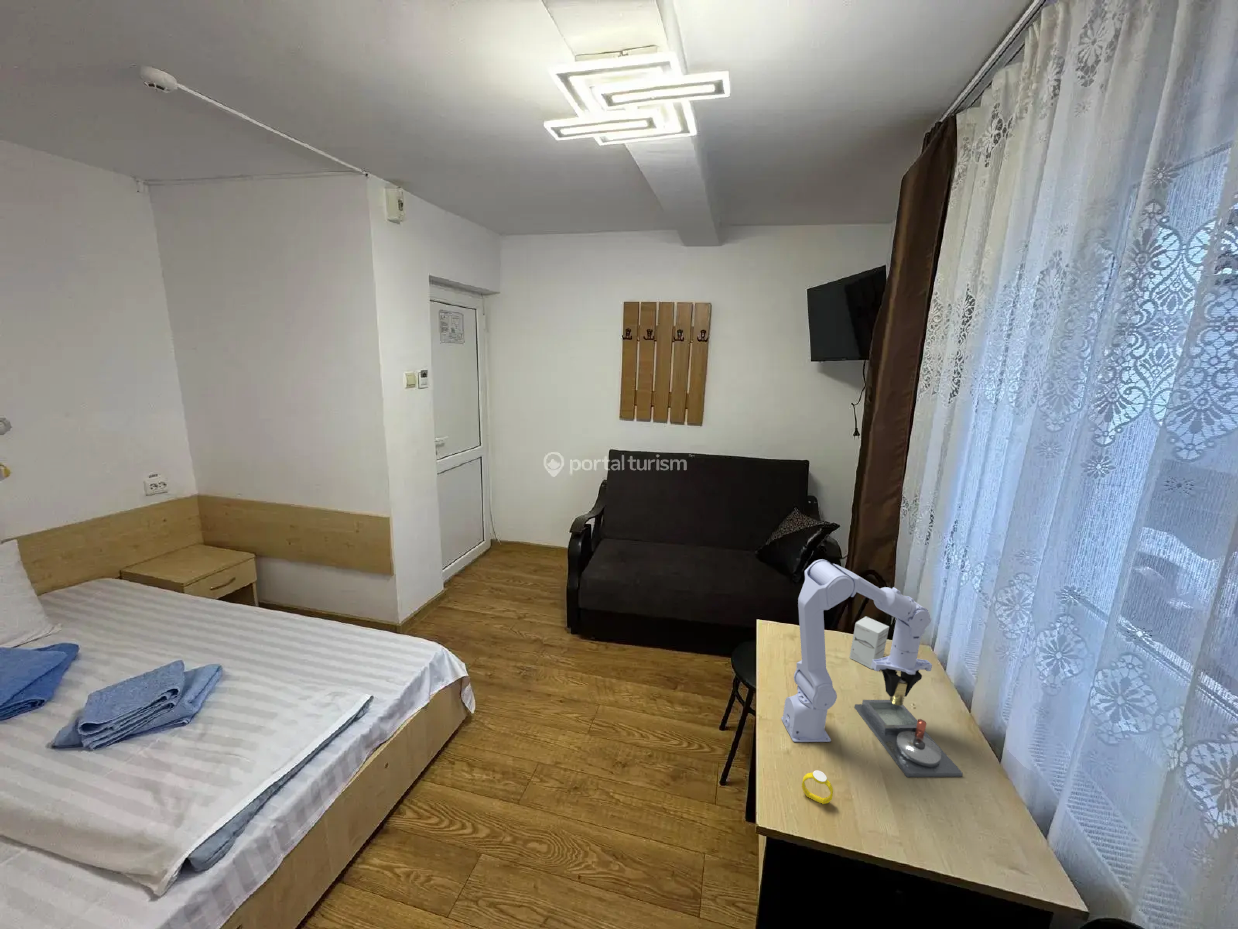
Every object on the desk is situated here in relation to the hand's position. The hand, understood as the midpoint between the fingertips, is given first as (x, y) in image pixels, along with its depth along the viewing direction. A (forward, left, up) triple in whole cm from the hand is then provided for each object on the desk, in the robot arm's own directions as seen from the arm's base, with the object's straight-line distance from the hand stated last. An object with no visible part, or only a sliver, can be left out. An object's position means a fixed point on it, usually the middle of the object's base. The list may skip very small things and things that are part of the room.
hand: (896, 694), depth 121 cm
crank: (0, -10, -7) cm, 13 cm away
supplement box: (+9, +27, -9) cm, 30 cm away
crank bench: (0, -5, -9) cm, 10 cm away
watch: (-30, -21, -9) cm, 38 cm away
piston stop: (0, -1, -2) cm, 2 cm away
